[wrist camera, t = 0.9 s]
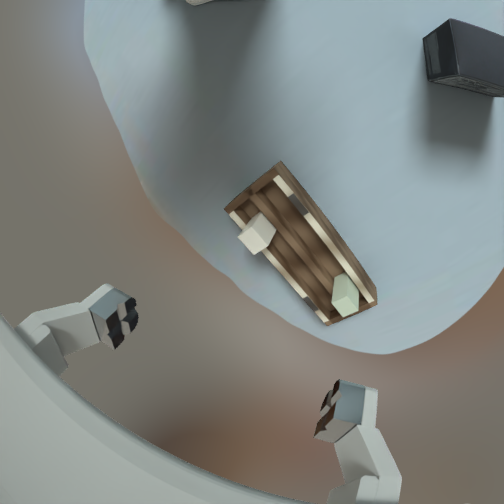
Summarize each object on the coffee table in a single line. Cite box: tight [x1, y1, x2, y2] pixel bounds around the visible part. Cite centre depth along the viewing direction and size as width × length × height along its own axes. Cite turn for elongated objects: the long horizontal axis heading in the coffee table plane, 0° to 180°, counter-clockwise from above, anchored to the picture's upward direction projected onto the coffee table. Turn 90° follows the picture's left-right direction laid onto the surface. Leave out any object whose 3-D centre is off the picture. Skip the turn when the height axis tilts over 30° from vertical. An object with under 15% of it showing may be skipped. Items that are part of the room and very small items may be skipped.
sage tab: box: [331, 272, 359, 317], centre depth 36 cm, size 3×2×6 cm
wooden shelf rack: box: [224, 161, 377, 326], centre depth 38 cm, size 24×9×4 cm, turn 44°
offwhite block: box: [238, 211, 277, 255], centre depth 35 cm, size 3×2×6 cm
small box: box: [423, 18, 504, 97], centre depth 15 cm, size 11×6×10 cm, turn 98°
